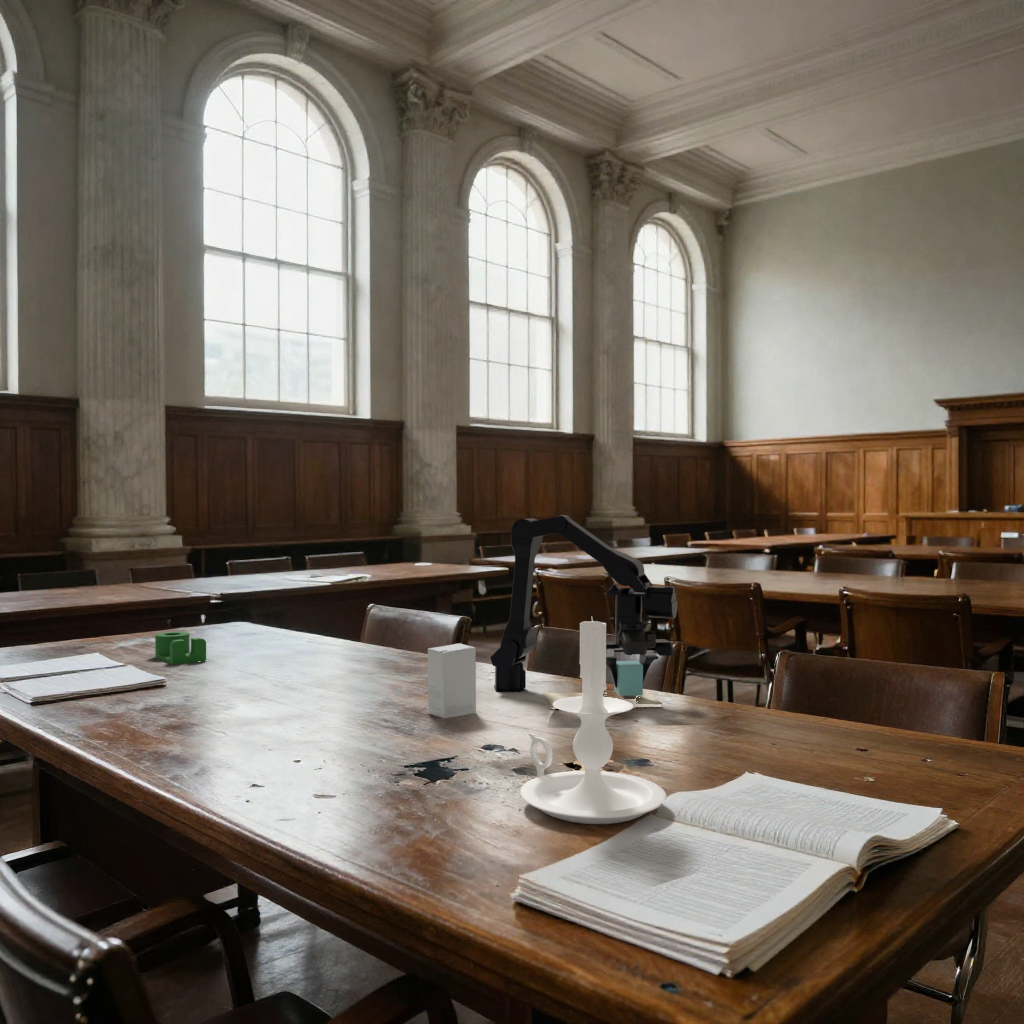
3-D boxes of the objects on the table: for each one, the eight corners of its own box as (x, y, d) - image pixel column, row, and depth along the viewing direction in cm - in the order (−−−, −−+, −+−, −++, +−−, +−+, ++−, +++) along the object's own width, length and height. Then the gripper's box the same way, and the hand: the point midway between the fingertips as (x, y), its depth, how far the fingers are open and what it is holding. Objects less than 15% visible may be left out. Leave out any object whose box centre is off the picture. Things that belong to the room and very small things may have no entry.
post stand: (550, 710, 195) (550, 674, 195) (543, 697, 207) (543, 664, 207) (662, 707, 198) (662, 672, 197) (648, 695, 209) (648, 662, 209)
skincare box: (459, 714, 191) (460, 642, 191) (477, 720, 186) (477, 646, 186) (426, 720, 186) (426, 646, 186) (443, 726, 181) (443, 650, 181)
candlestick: (580, 776, 149) (581, 602, 149) (697, 819, 129) (698, 619, 129) (474, 801, 137) (475, 611, 136) (585, 853, 117) (586, 631, 116)
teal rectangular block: (619, 695, 200) (619, 665, 200) (614, 690, 205) (614, 661, 205) (642, 695, 200) (642, 665, 200) (637, 690, 206) (637, 660, 206)
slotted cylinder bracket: (150, 656, 260) (150, 633, 260) (182, 653, 266) (182, 630, 266) (172, 665, 246) (172, 641, 246) (206, 662, 252) (206, 638, 252)
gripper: (593, 621, 194) (592, 695, 194) (680, 620, 196) (680, 694, 196) (583, 614, 205) (583, 685, 205) (666, 613, 207) (666, 683, 207)
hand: (628, 687), depth 203 cm, fingers closed on teal rectangular block, 5 cm apart
